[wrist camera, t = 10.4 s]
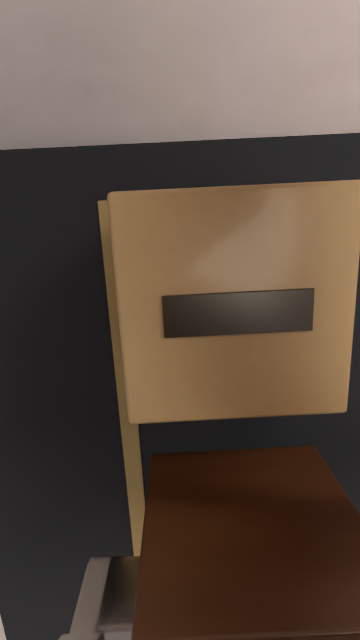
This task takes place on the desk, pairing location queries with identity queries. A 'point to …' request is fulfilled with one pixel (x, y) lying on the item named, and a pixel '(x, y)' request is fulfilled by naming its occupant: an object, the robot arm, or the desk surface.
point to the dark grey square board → (112, 361)
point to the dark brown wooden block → (247, 548)
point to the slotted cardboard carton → (236, 299)
